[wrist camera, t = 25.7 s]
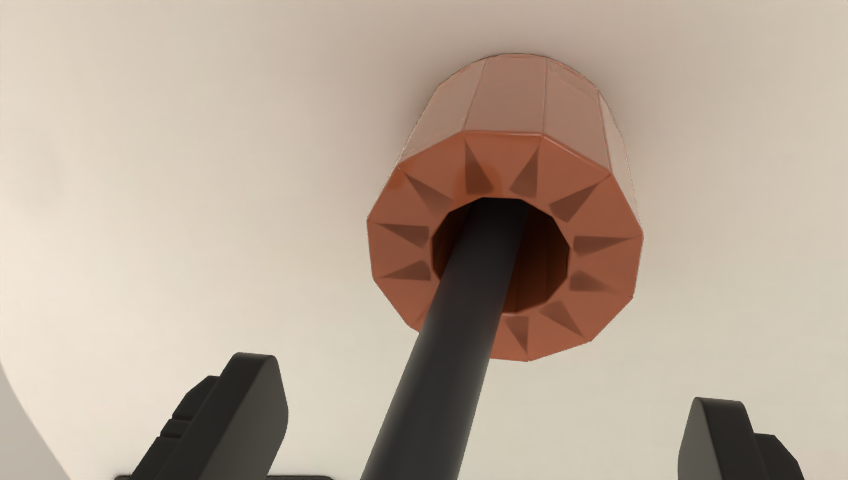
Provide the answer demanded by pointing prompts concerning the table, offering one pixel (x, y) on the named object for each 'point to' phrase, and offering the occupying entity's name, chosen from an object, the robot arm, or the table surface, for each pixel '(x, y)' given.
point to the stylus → (451, 351)
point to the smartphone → (267, 479)
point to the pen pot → (518, 179)
